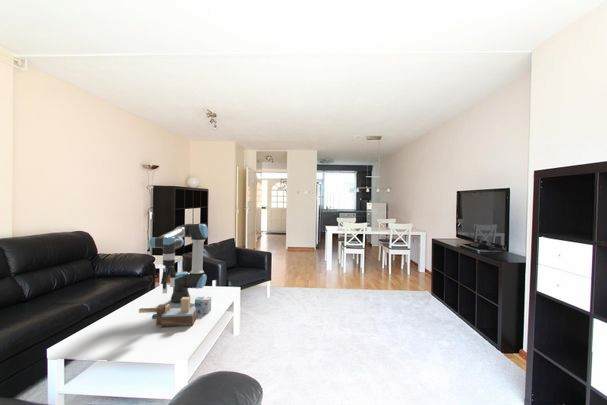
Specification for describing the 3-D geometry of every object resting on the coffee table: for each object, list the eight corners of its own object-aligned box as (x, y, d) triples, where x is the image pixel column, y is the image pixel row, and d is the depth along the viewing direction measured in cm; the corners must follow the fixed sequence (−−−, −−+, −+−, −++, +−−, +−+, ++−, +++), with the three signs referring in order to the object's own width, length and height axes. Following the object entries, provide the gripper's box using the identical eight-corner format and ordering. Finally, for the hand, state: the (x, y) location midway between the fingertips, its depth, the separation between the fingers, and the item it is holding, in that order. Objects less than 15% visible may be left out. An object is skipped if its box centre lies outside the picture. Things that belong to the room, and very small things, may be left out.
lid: (167, 310, 205) (167, 296, 205) (196, 309, 208) (196, 295, 208) (161, 317, 194) (161, 301, 193) (191, 315, 196) (192, 300, 196)
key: (140, 311, 198) (140, 308, 198) (161, 310, 200) (161, 307, 200) (138, 312, 196) (138, 309, 196) (160, 312, 198) (160, 308, 198)
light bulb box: (194, 313, 218) (194, 299, 218) (197, 309, 225) (197, 296, 225) (208, 313, 218) (208, 299, 218) (211, 310, 224) (211, 296, 224)
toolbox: (161, 320, 205) (161, 302, 205) (196, 318, 208) (196, 301, 208) (154, 327, 193) (154, 309, 193) (192, 326, 196) (192, 308, 196)
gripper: (169, 255, 211) (169, 284, 211) (155, 263, 186) (155, 296, 187) (180, 255, 212) (180, 284, 212) (167, 263, 187) (167, 295, 187)
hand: (168, 290), depth 199 cm, fingers open, 13 cm apart
